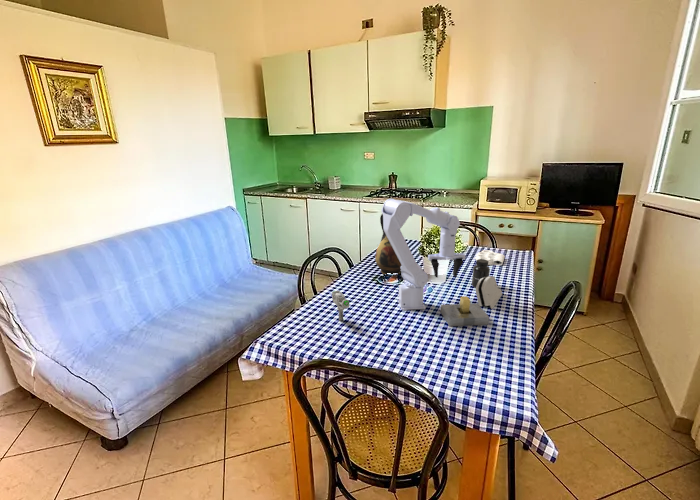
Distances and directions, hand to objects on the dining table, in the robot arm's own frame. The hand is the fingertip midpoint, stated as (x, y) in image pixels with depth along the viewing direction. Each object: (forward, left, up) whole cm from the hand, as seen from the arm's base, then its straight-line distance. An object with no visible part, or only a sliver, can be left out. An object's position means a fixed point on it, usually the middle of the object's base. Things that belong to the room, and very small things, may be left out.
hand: (445, 276), depth 149 cm
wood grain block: (+2, -18, -9) cm, 20 cm away
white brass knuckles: (+36, +43, -10) cm, 57 cm away
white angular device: (+17, -3, -10) cm, 20 cm away
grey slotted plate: (+2, -18, -9) cm, 20 cm away
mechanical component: (-43, -16, -10) cm, 47 cm away
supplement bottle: (+19, +10, -10) cm, 24 cm away
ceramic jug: (-18, +31, -10) cm, 37 cm away
